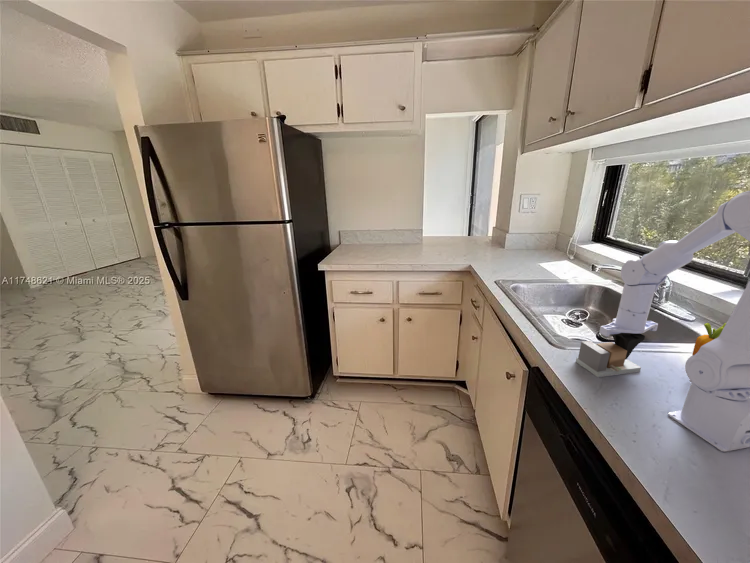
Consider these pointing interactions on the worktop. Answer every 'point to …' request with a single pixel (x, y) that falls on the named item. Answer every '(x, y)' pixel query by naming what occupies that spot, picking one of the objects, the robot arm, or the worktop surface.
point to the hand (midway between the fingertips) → (621, 357)
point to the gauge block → (614, 355)
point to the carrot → (707, 337)
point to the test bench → (609, 372)
